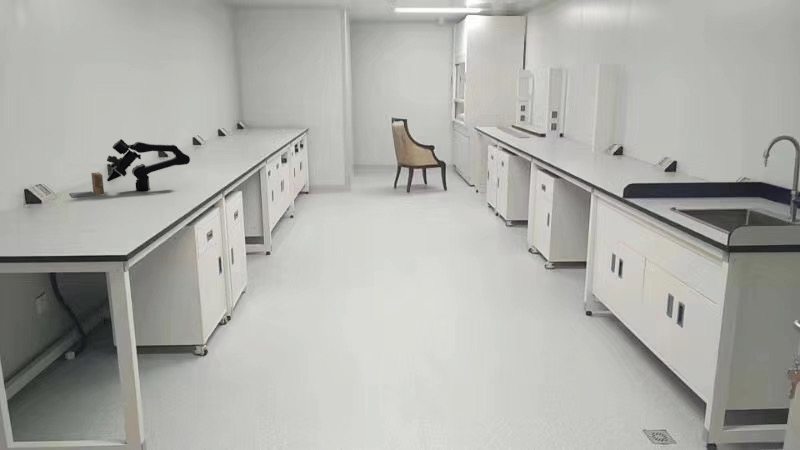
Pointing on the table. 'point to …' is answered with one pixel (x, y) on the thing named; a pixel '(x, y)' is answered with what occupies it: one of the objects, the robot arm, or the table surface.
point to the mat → (82, 194)
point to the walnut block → (97, 184)
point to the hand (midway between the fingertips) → (107, 180)
